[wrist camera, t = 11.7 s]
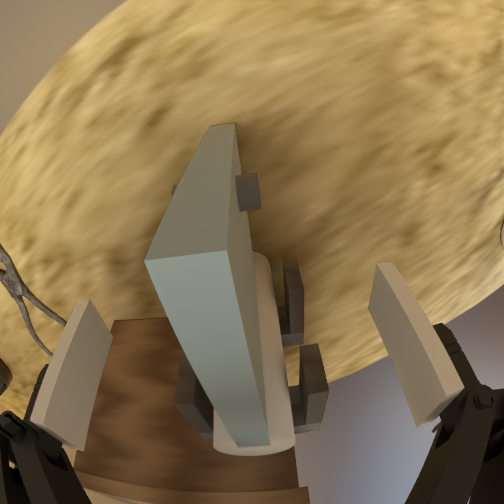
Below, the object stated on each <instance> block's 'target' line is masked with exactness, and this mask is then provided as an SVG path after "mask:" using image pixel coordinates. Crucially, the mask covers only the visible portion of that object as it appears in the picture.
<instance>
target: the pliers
mask: <svg viewBox="0 0 504 504" xmlns="http://www.w3.org/2000/svg"><path fill="white" fill-rule="evenodd" d="M0 262H2V263H4V265H5V266H6V269H7V270H6V271H5V270H1V269H0V281H1V283H2V284H3V285H4V286H5V287H6V289H7V290H8V292H9V293H10V295H11V297H13V298H14V299H15V301H16V302H17V304H18V306H19V308H20V310H21V313H22V315H23V318H24V320H25V323H26V325H27V328H28V330H29V332H30V334H31V335H32V337H33V338H34V339H35V341H36V342H37V343H38V344H39V346H40V347H41V348H42V349H43V350H44V351H45V352H46V353H47V354H48V355H49V356H51V357H52V356H53V353H51V352H50V351H49V350H48V349H47V348H46V347H45V346H44V344H43V343H42V342H41V341H40V339H39V338H38V337H37V335H36V333H35V331H34V329H33V326H32V324H31V321H30V318H29V314H28V311H27V308H26V305H25V303H24V301H23V299H22V296H24V297H26V298H27V299H28V300H29V301H31V302H32V303H33V304H34V305H35V306H36V307H38V308H39V309H40V310H42V311H43V312H44V313H46V314H47V315H48V316H50V317H51V318H53V319H54V320H56V321H57V322H59V323H60V324H62V325H63V326H66V324H67V321H65V320H64V319H62V318H61V317H60V316H58V315H57V314H56V313H54V312H53V311H52V310H50V309H49V308H48V307H46V306H45V305H44V304H43V303H42V302H40V301H39V300H38V299H37V298H36V297H35V296H34V295H33V294H32V293H31V291H30V290H29V289H28V288H27V286H26V285H25V284H24V282H23V281H22V279H21V277H20V275H19V274H18V272H17V270H16V268H15V266H14V264H13V262H12V260H11V258H10V256H9V255H8V253H7V252H6V251H5V249H4V248H3V247H2V245H1V244H0ZM20 294H21V295H22V296H21V295H20Z"/></svg>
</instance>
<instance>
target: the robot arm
mask: <svg viewBox="0 0 504 504" xmlns="http://www.w3.org/2000/svg"><path fill="white" fill-rule="evenodd" d="M368 309H369V311H370V313H371V315H372V317H373V320H374V322H375V324H376V326H377V328H378V331H379V333H380V335H381V337H382V340H383V342H384V344H385V347H386V349H387V351H388V354H389V356H390V358H391V361H392V363H393V366H394V368H395V371H396V373H397V376H398V378H399V381H400V383H401V386H402V389H403V391H404V394H405V396H406V399H407V402H408V404H409V407H410V410H411V412H412V416H413V419H414V421H415V424H416V427H417V428H418V427H421V426H423V425H426V424H428V423H431V422H433V421H434V420H435V419H436V418H437V417H438V416H440V418H441V422H440V423H439V424H437V425H436V427H434V429H433V431H432V432H433V433H434V432H435V431H436V430H437V429H438V430H437V433H436V436H435V438H434V441H433V444H432V446H431V448H430V451H429V454H428V456H427V458H426V460H425V463H424V465H423V467H422V470H421V472H420V474H419V476H418V478H417V480H416V483H415V484H414V486H413V489H412V490H411V492H410V494H409V496H408V498H407V500H406V502H405V504H467V502H468V500H469V498H470V501H469V504H504V389H496V390H492V389H491V388H490V387H488V386H486V385H482V384H480V382H479V381H478V379H477V377H476V375H475V373H474V372H473V369H472V367H471V365H470V364H469V362H468V360H467V358H466V356H465V354H464V352H463V351H462V350H461V347H460V345H459V344H458V343H457V340H456V338H455V337H454V335H453V333H452V331H451V330H450V329H448V328H447V327H446V326H445V325H444V324H443V323H439V324H436V325H433V326H432V324H431V323H430V321H429V319H428V317H427V316H426V314H425V312H424V311H423V309H422V307H421V306H420V304H419V302H418V301H417V299H416V298H415V296H414V294H413V293H412V291H411V290H410V288H409V287H408V285H407V283H406V282H405V280H404V279H403V277H402V276H401V274H400V273H399V271H398V270H397V268H396V267H395V265H394V264H393V262H392V261H391V262H385V263H378V264H377V265H376V271H375V277H374V282H373V287H372V293H371V297H370V302H369V307H368ZM112 339H113V335H112V334H111V332H110V331H109V329H108V328H107V326H106V325H105V323H104V321H103V320H102V318H101V317H100V315H99V313H98V312H97V310H96V308H95V307H94V305H93V303H92V301H91V300H90V299H83V300H78V301H77V303H76V305H75V307H74V309H73V311H72V313H71V315H70V317H69V320H68V322H67V324H66V326H65V328H64V330H63V333H62V335H61V337H60V339H59V342H58V344H57V346H56V349H55V351H54V353H53V356H52V358H51V361H50V363H49V364H46V365H45V366H44V368H43V369H42V370H41V372H40V374H39V376H38V379H37V384H35V387H34V392H33V393H32V395H31V398H30V401H29V404H28V407H27V410H26V414H25V417H24V419H23V420H22V419H20V418H19V417H18V416H16V415H15V414H14V413H13V412H11V411H5V412H3V413H2V414H1V415H0V504H92V503H91V502H90V500H89V498H88V496H87V494H86V492H85V491H84V489H83V487H82V485H81V483H80V481H79V479H78V477H77V475H76V473H75V471H74V469H73V467H72V465H71V463H70V461H69V458H68V456H67V454H66V452H65V450H64V449H63V448H62V443H63V444H65V445H66V446H68V447H69V448H72V449H76V450H80V451H84V447H85V442H86V437H87V432H88V428H89V423H90V419H91V414H92V410H93V406H94V402H95V398H96V394H97V390H98V387H99V383H100V379H101V376H102V372H103V369H104V365H105V362H106V358H107V355H108V352H109V349H110V345H111V342H112ZM11 380H12V375H11V373H10V371H9V370H8V368H7V367H6V366H5V364H4V363H3V362H2V361H1V360H0V396H1V395H2V393H3V392H4V391H5V390H6V389H7V388H8V387H9V384H10V382H11ZM9 461H10V462H12V463H14V465H15V466H14V469H13V468H11V467H9ZM470 495H471V496H470Z"/></svg>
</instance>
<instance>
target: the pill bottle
mask: <svg viewBox="0 0 504 504" xmlns="http://www.w3.org/2000/svg"><path fill="white" fill-rule="evenodd" d="M501 242H502V245H503V248H504V223H503V227H502V232H501Z"/></svg>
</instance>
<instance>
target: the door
mask: <svg viewBox="0 0 504 504" xmlns="http://www.w3.org/2000/svg"><path fill="white" fill-rule="evenodd" d="M258 209H261V202H260V193H259V186H258V178H257V173H252V174H244V175H242V170H241V163H240V156H239V149H238V142H237V135H236V129H235V123H228V124H221V125H215V126H209V127H208V129H207V131H206V133H205V135H204V136H203V138H202V140H201V142H200V144H199V146H198V147H197V149H196V151H195V153H194V155H193V157H192V159H191V161H190V163H189V165H188V166H187V168H186V170H185V172H184V174H183V176H182V178H181V180H180V182H179V184H178V185H174V186H173V189H172V199H171V201H170V203H169V205H168V207H167V209H166V211H165V214H164V216H163V218H162V220H161V222H160V225H159V227H158V229H157V231H156V234H155V236H154V238H153V240H152V243H151V245H150V247H149V250H148V252H147V255H146V257H145V259H144V262H145V265H146V267H147V270H148V272H149V275H150V277H151V280H152V282H153V284H154V287H155V289H156V292H157V294H158V296H159V299H160V301H161V303H162V305H163V308H164V310H165V312H166V314H167V317H168V319H169V321H170V323H171V325H172V327H173V330H174V332H175V334H176V336H177V338H178V340H179V342H180V344H181V346H182V348H183V350H184V352H185V354H186V356H187V358H188V360H189V362H190V364H191V366H192V368H193V370H194V372H195V374H196V376H197V378H198V379H199V381H200V383H201V385H202V387H203V389H204V391H205V392H206V394H207V396H208V398H209V400H210V401H211V403H212V405H213V407H214V428H213V447H214V448H215V449H216V450H217V451H220V452H222V453H226V454H231V455H238V456H260V455H268V454H274V453H278V452H282V451H285V450H287V449H289V448H291V447H293V446H294V444H295V443H296V441H295V433H294V426H293V418H292V411H291V403H290V396H289V388H288V381H287V374H286V367H285V360H284V353H283V346H282V339H281V332H280V326H279V319H278V312H277V305H276V299H275V292H274V286H273V279H272V273H271V267H270V263H269V261H268V260H267V258H266V257H265V256H264V255H262V254H261V253H259V252H256V251H253V247H252V240H251V233H250V226H249V219H248V212H247V211H250V210H258Z"/></svg>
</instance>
